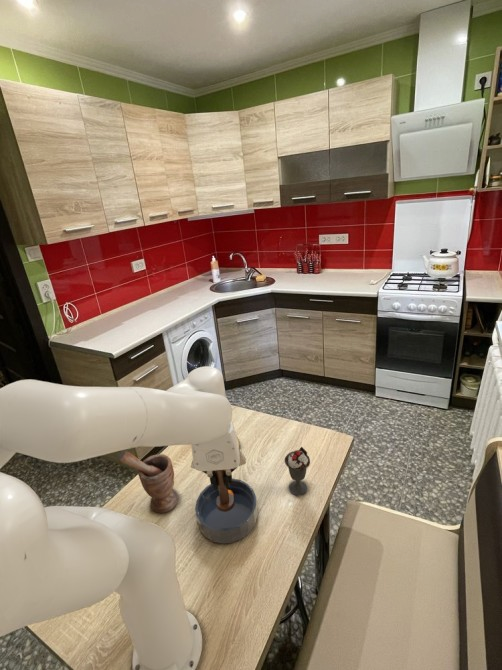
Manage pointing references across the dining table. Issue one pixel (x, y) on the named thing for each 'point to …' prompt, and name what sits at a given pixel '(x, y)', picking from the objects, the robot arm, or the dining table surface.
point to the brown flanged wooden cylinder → (223, 493)
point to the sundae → (297, 470)
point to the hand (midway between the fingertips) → (222, 484)
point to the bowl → (227, 513)
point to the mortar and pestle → (155, 479)
